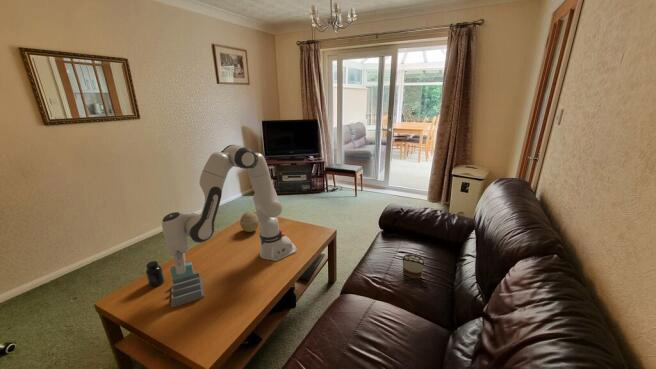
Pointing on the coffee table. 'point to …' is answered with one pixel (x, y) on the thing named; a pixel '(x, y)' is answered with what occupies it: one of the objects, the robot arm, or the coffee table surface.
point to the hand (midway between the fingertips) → (182, 270)
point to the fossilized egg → (249, 222)
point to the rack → (187, 290)
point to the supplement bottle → (154, 274)
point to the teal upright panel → (188, 273)
